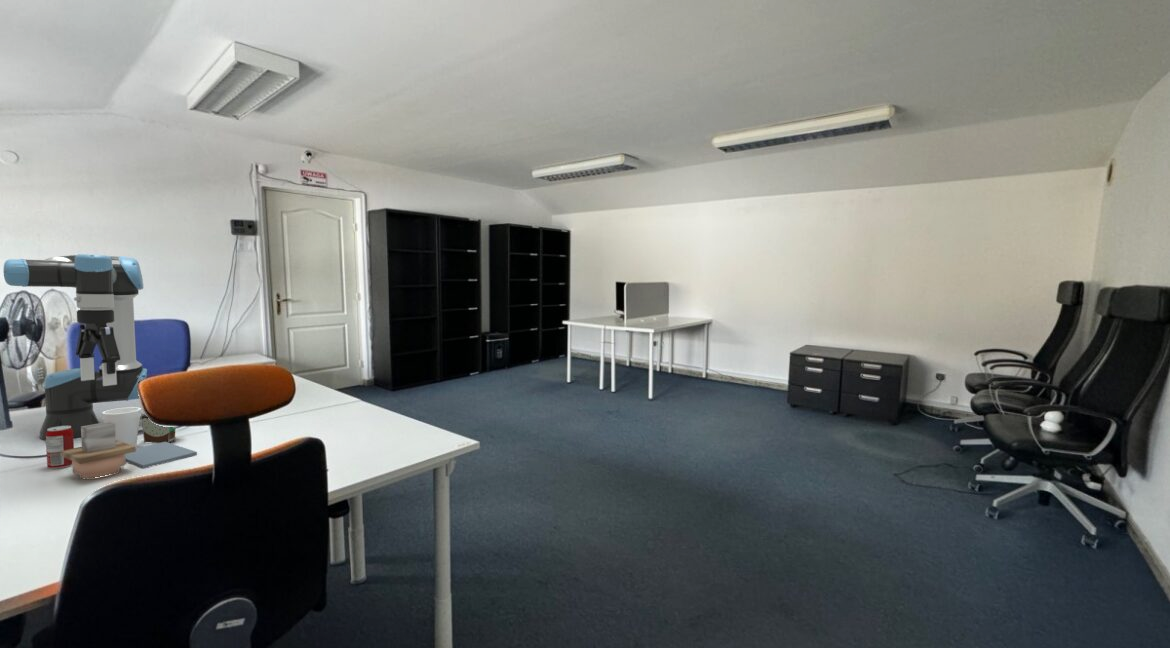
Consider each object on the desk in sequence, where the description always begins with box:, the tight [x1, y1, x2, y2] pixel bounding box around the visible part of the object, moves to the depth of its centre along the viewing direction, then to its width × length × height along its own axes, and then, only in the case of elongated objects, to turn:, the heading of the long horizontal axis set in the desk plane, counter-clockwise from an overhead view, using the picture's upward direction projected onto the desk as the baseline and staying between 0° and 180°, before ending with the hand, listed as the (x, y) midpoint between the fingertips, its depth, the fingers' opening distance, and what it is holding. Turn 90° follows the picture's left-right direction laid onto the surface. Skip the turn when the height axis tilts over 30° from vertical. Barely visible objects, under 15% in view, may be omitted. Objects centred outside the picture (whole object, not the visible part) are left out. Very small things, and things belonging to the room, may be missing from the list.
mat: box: [126, 442, 198, 469], centre depth 157 cm, size 20×14×1 cm
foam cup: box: [101, 406, 142, 448], centre depth 162 cm, size 10×9×13 cm
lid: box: [61, 421, 137, 464], centre depth 141 cm, size 12×12×8 cm
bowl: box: [71, 454, 127, 480], centre depth 141 cm, size 11×11×6 cm
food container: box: [140, 412, 177, 444], centre depth 172 cm, size 12×6×10 cm, turn 84°
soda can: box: [45, 426, 75, 470], centre depth 146 cm, size 6×6×12 cm
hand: (98, 382), depth 140 cm, fingers open, 13 cm apart
